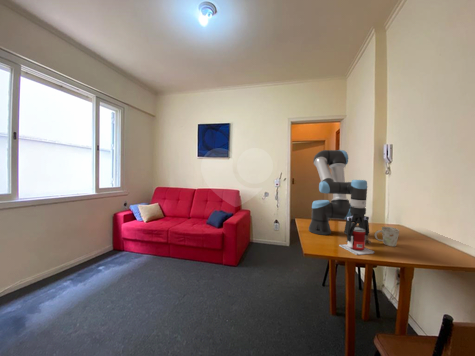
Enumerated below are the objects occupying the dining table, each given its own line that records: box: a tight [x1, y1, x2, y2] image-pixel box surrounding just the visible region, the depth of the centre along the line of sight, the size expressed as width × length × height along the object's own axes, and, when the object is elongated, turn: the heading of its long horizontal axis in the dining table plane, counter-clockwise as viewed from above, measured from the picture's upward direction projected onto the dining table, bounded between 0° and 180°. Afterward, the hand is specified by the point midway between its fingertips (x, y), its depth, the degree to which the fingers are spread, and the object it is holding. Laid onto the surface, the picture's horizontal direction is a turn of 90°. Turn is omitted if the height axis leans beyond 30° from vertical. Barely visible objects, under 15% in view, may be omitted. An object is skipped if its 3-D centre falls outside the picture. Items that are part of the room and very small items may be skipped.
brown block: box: [345, 224, 372, 244], centre depth 114 cm, size 5×14×11 cm, turn 103°
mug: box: [374, 226, 400, 247], centre depth 112 cm, size 8×13×10 cm, turn 78°
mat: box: [338, 243, 375, 256], centre depth 103 cm, size 12×12×1 cm
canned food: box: [350, 227, 366, 250], centre depth 103 cm, size 8×8×11 cm
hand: (356, 246), depth 103 cm, fingers closed on canned food, 8 cm apart
